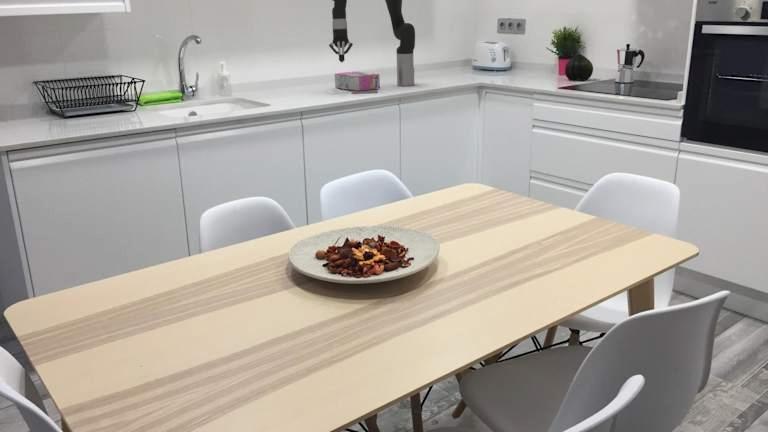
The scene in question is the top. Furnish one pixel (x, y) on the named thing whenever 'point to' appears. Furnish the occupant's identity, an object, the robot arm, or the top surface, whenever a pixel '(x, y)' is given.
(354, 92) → the mat
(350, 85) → the gum box
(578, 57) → the squash
